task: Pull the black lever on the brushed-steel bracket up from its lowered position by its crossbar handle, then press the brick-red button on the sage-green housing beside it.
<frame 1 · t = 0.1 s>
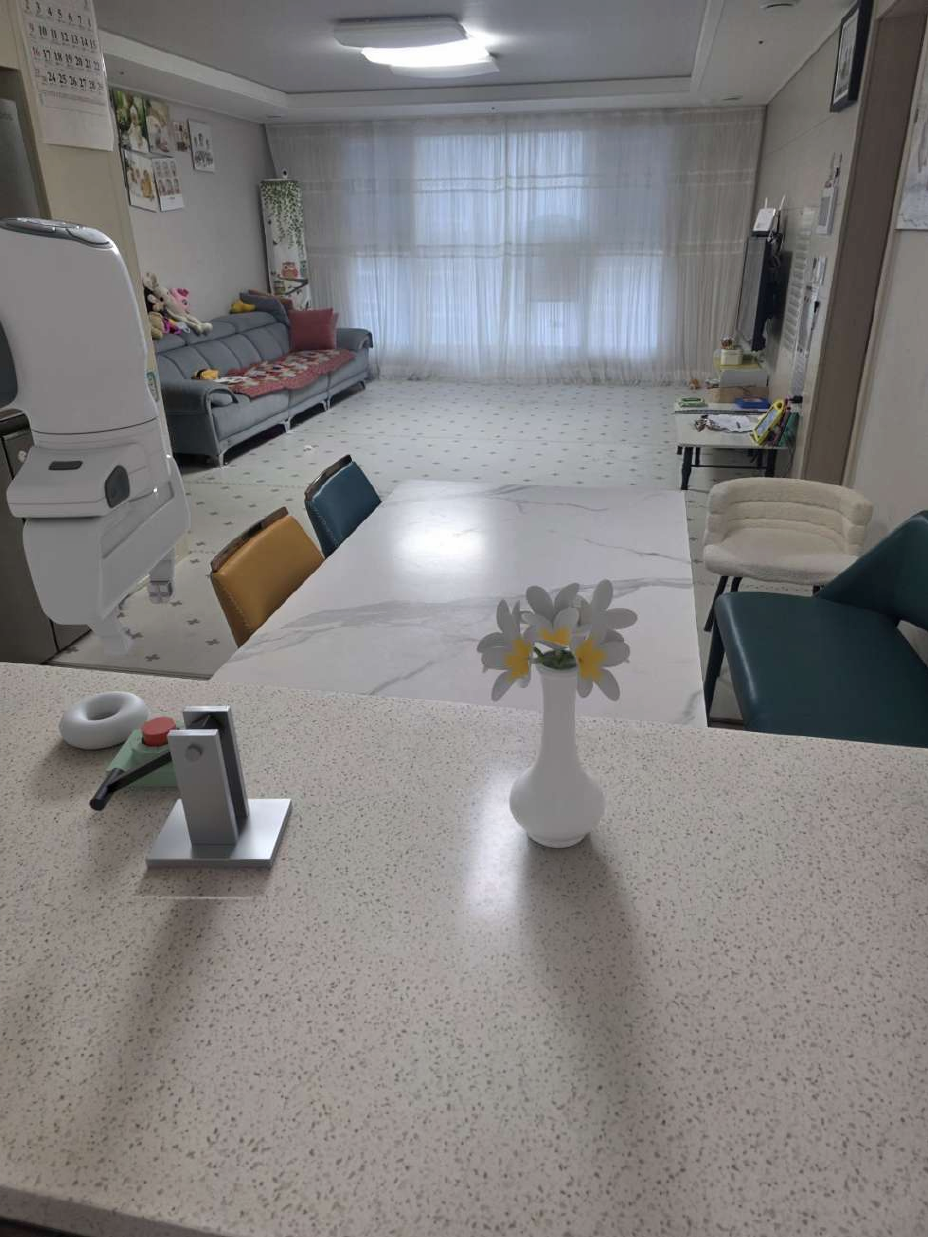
hand: (142, 624, 68), 26 cm above the table, tool pointing down, fingers open, 8 cm apart
lever: (157, 761, 78), point 9 cm above the table, hinge at -30.0°
bracket: (223, 837, 82), on the table
flower vase: (554, 824, 82), on the table
button box: (167, 765, 93), on the table
donut: (107, 732, 100), on the table
button: (160, 732, 91), point 4 cm above the table, slide at 0.1 cm
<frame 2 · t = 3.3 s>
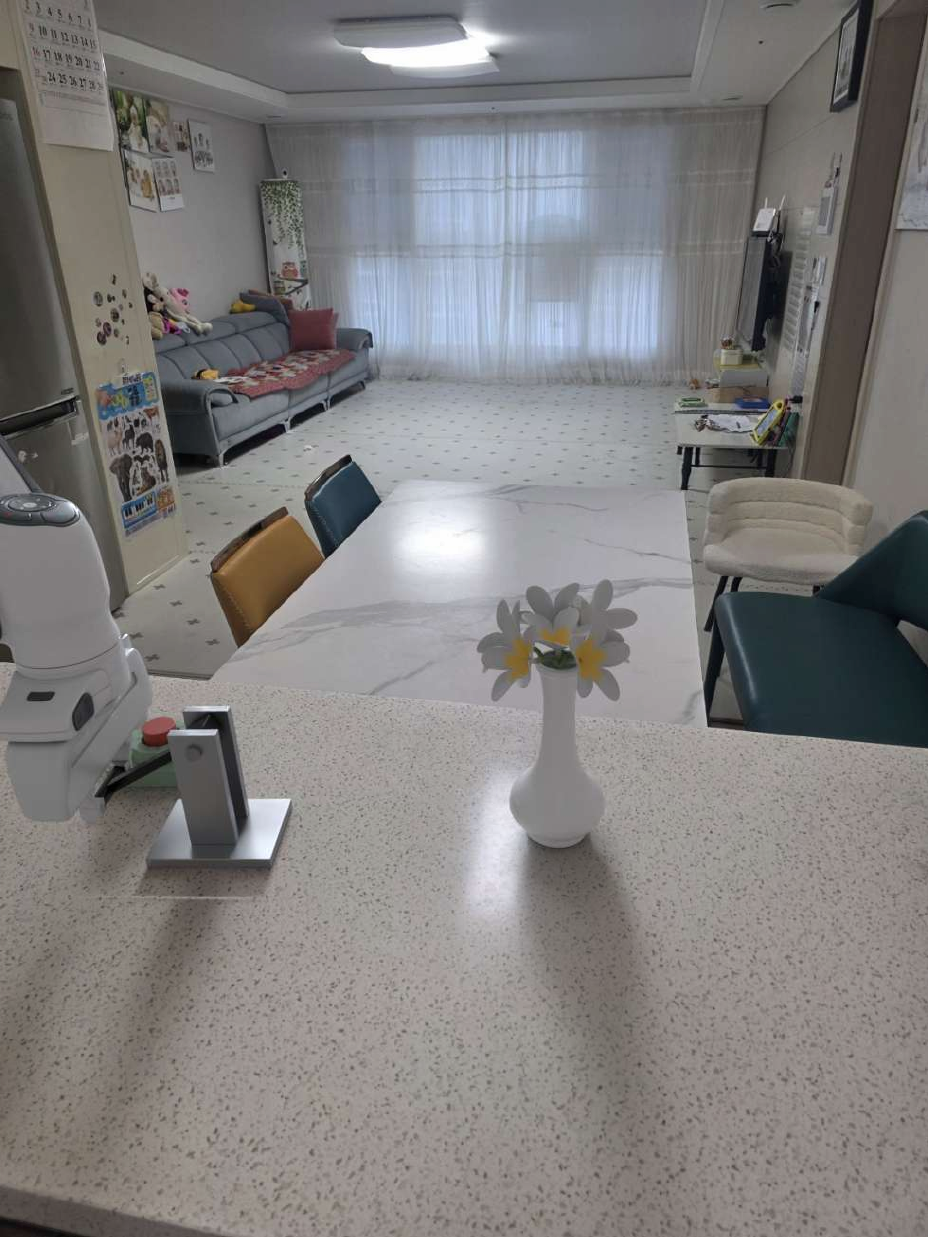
hand: (109, 796, 80), 5 cm above the table, tool pointing down, fingers closed on lever, 5 cm apart
lever: (157, 761, 78), point 9 cm above the table, hinge at -30.0°, touching gripper
everything else where it was.
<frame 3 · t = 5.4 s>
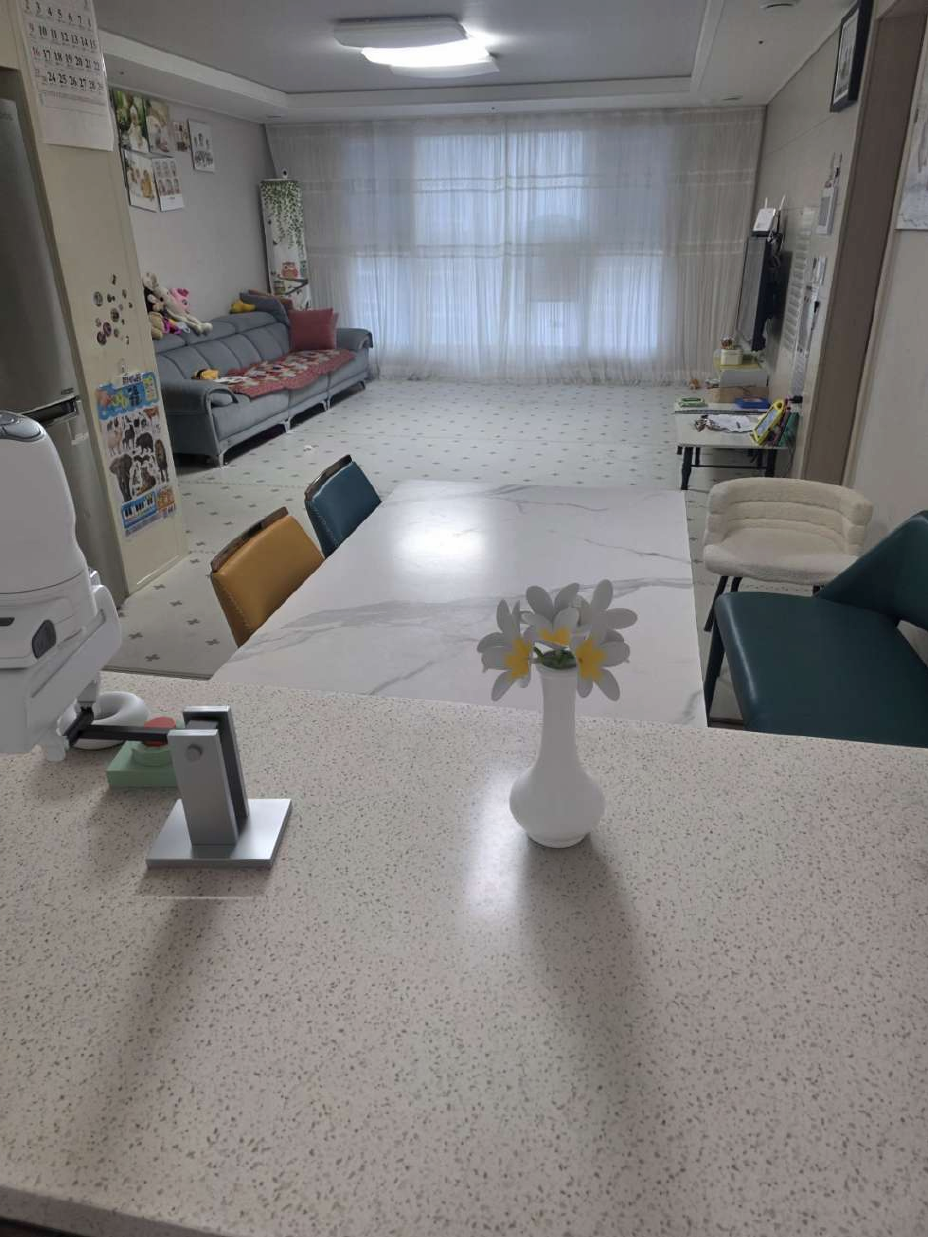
hand: (74, 736, 77), 12 cm above the table, tool pointing down, fingers closed on lever, 5 cm apart
lever: (142, 734, 77), point 12 cm above the table, hinge at 3.4°, touching gripper
everything else where it was.
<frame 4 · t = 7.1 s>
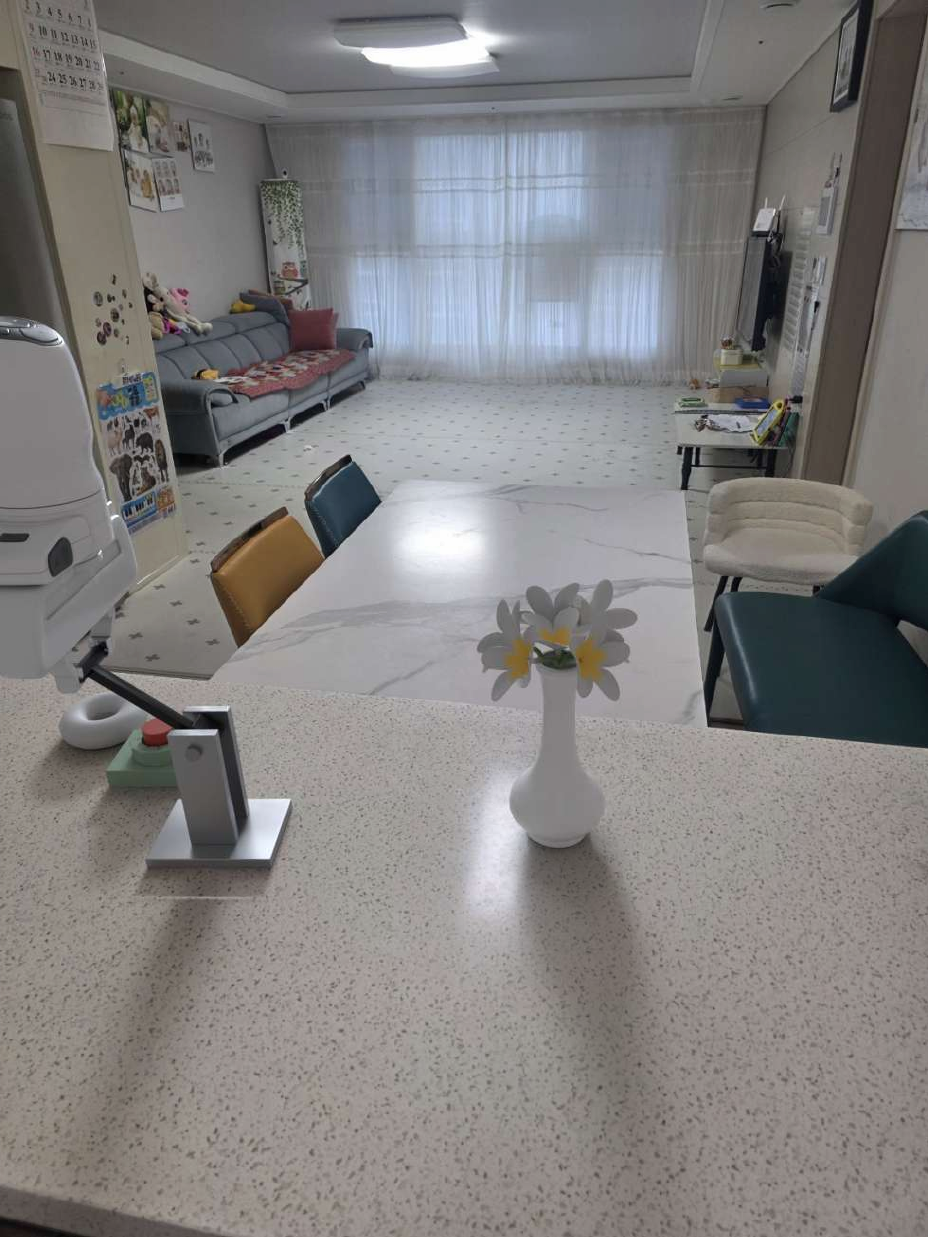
hand: (88, 671, 74), 19 cm above the table, tool pointing down, fingers closed on lever, 5 cm apart
lever: (149, 704, 75), point 16 cm above the table, hinge at 39.2°, touching gripper
everything else where it was.
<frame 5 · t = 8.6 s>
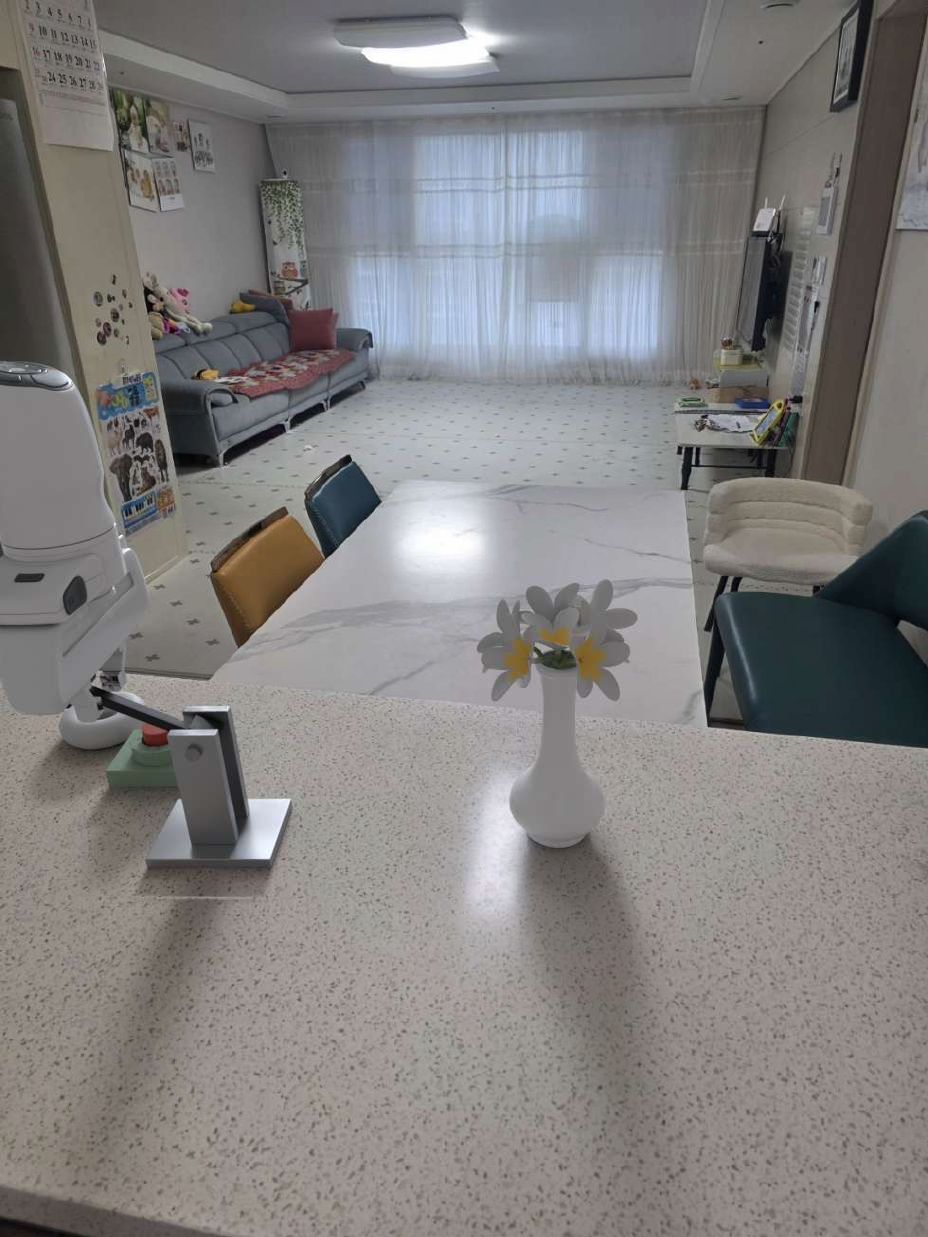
hand: (104, 702, 75), 16 cm above the table, tool pointing down, fingers open, 4 cm apart
lever: (144, 713, 76), point 15 cm above the table, hinge at 26.8°
everything else where it was.
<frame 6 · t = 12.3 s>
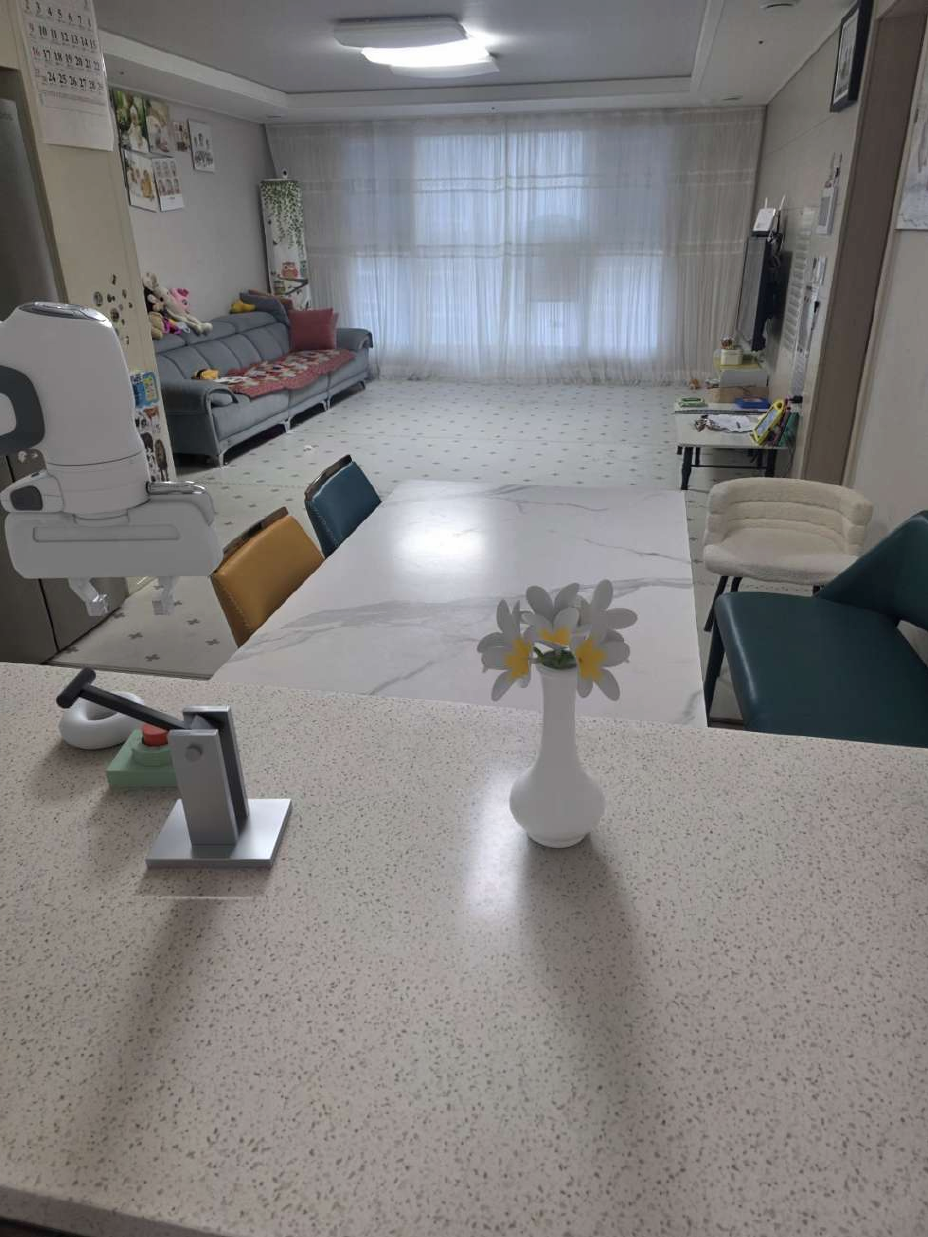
hand: (132, 613, 85), 19 cm above the table, tool pointing down, fingers open, 5 cm apart
nothing on the table moved.
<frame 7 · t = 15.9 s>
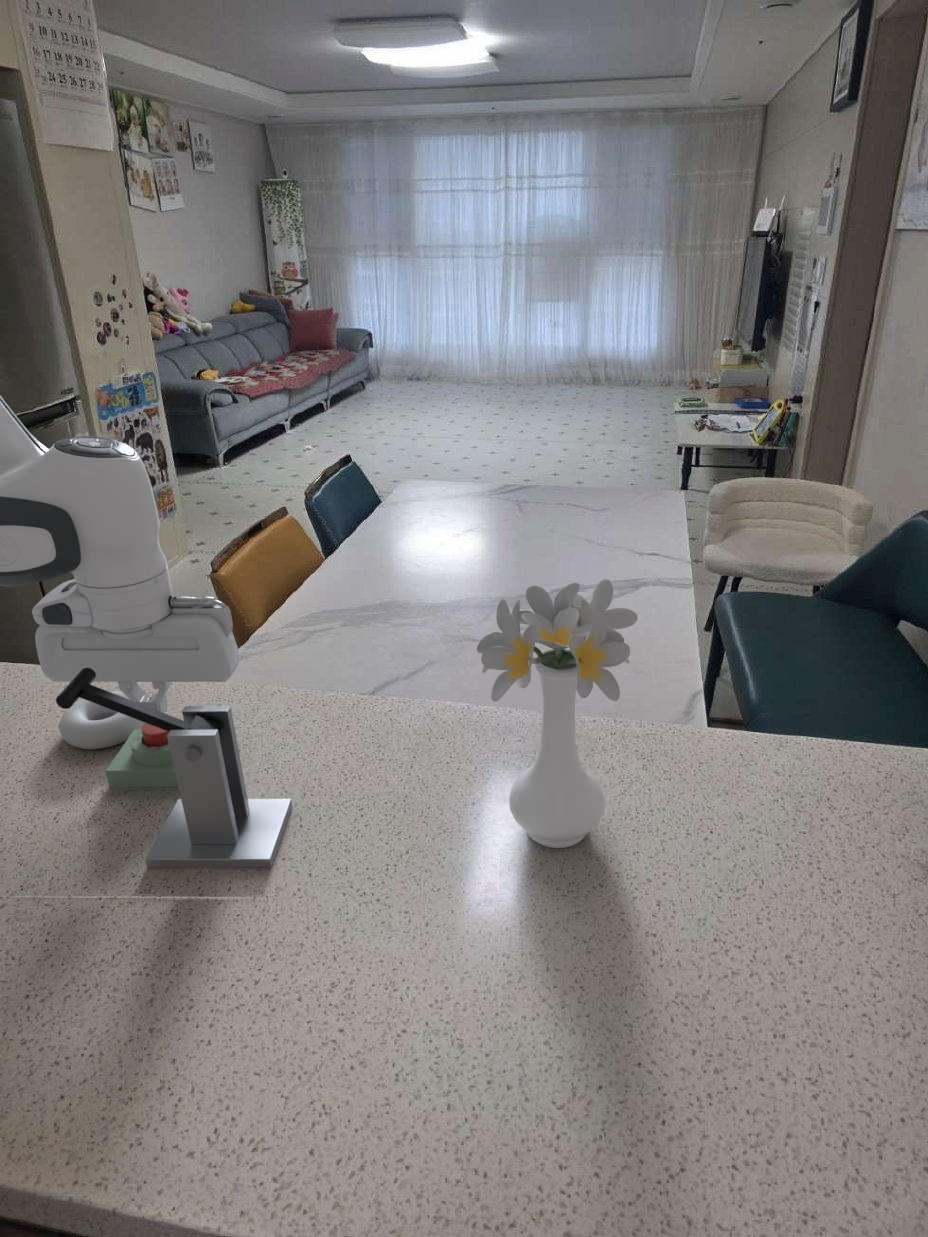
hand: (152, 711, 90), 7 cm above the table, tool pointing down, fingers closed
nothing on the table moved.
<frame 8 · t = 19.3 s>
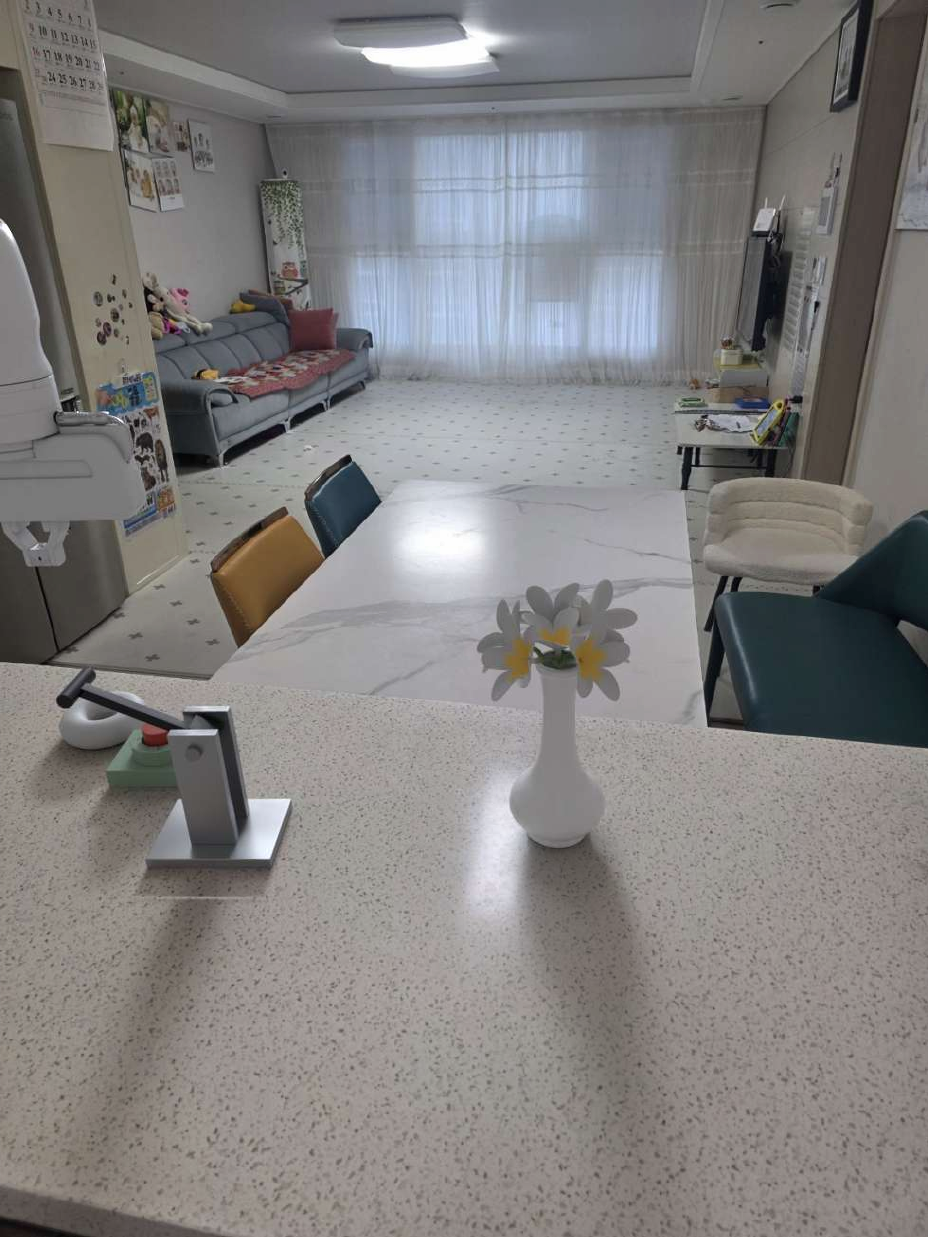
hand: (47, 564, 76), 27 cm above the table, tool pointing down, fingers closed
nothing on the table moved.
at the end: lever at +27° (first picture: -30°); button pushed in 1.0 cm at the most during the clip, back to where it started at the end; button slide at 0.1 cm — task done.
